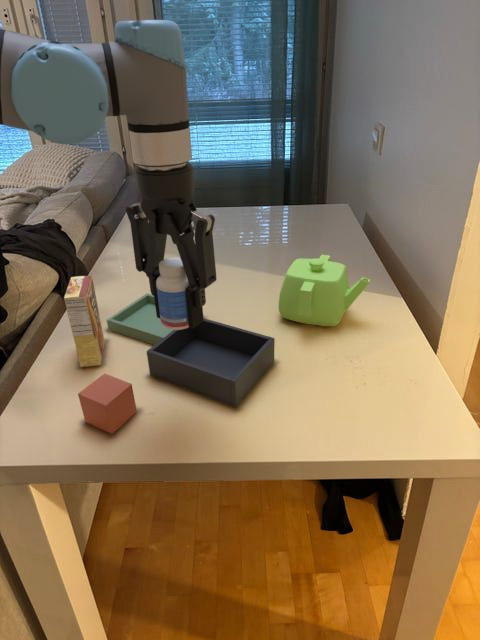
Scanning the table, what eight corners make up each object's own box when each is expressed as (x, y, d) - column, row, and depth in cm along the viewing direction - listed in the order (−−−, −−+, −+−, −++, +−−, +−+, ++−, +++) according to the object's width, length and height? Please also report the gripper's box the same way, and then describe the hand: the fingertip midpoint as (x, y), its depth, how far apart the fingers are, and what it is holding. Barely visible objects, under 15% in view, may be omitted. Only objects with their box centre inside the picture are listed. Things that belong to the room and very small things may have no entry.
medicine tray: (108, 329, 101) (106, 319, 100) (148, 302, 111) (147, 293, 110) (165, 348, 94) (164, 338, 93) (202, 318, 104) (202, 308, 103)
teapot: (370, 301, 109) (377, 249, 102) (356, 347, 93) (363, 289, 86) (294, 289, 115) (296, 239, 108) (268, 331, 99) (269, 275, 92)
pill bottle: (197, 329, 69) (192, 269, 64) (161, 332, 69) (153, 272, 64) (195, 311, 74) (190, 254, 69) (161, 314, 73) (153, 257, 68)
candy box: (85, 343, 97) (69, 276, 89) (106, 340, 97) (92, 274, 90) (80, 368, 89) (62, 298, 81) (102, 365, 90) (87, 295, 82)
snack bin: (150, 375, 87) (146, 351, 84) (194, 337, 98) (192, 314, 95) (236, 407, 79) (235, 381, 76) (274, 362, 89) (274, 338, 87)
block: (85, 421, 77) (77, 393, 74) (110, 400, 81) (104, 373, 78) (112, 434, 74) (105, 405, 71) (137, 411, 78) (131, 383, 75)
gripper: (240, 164, 58) (244, 322, 70) (129, 151, 66) (149, 295, 78) (206, 178, 53) (216, 347, 65) (89, 162, 61) (118, 315, 73)
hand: (180, 318), depth 71 cm, fingers closed on pill bottle, 5 cm apart
